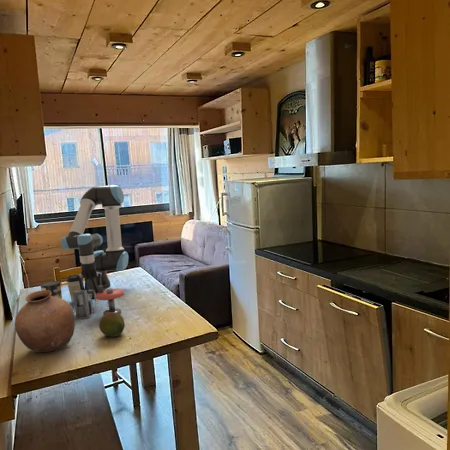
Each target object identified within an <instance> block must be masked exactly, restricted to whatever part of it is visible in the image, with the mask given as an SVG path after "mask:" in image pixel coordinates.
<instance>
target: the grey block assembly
mask: <svg viewBox="0 0 450 450" xmlns="http://www.w3.org/2000/svg"><path fill="white" fill-rule="evenodd" d="M79 295H82V296H83V304H84V305H80V303H79ZM73 297H74V302H73V303H74V318H75V320H85V319H88V320H89V319H90V318H91V317H92V316H93V315H94V314H95V311H94V305H93V300H89V301H88V296H87V290H76V291H74V292H73Z"/></svg>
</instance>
